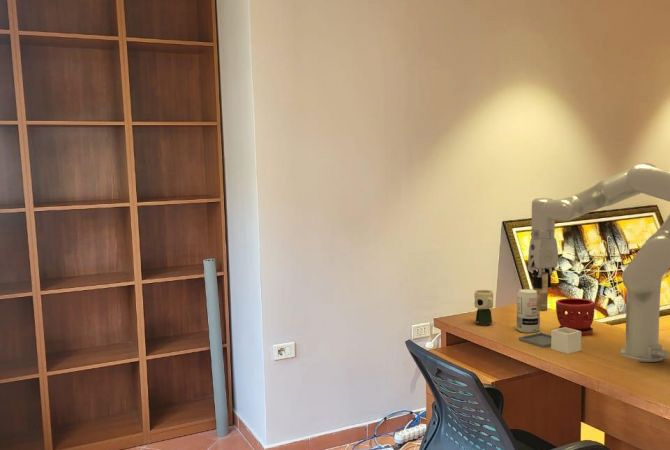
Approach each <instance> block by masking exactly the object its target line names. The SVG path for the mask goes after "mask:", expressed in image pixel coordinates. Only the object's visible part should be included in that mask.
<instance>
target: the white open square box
mask: <svg viewBox="0 0 670 450" xmlns="http://www.w3.org/2000/svg"><path fill="white" fill-rule="evenodd" d="M550 330H551V331H550V332H551V334H550V335H551V346H550V349H551V350H553V351H556V352H560V353H563V354H567V355H569V354H572V353H577V352H581V351H582V336H581V331H578V330H574V329H571V328H567V327H563V328H559V327H558V328H555V329H550Z"/></svg>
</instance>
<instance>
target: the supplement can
mask: <svg viewBox="0 0 670 450" xmlns="http://www.w3.org/2000/svg"><path fill="white" fill-rule="evenodd" d="M536 301H537V289H533V288H522V289H518V292H517V293H516V329H517V330H518V332H520V333H526V334H535V333H539V331H540V330H541V328H540V326H541V324H540V322H541V321H540V320H541V316H540V313H541V311H537V310H536ZM534 332H535V333H534Z"/></svg>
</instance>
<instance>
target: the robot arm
mask: <svg viewBox="0 0 670 450" xmlns="http://www.w3.org/2000/svg"><path fill="white" fill-rule="evenodd" d="M640 194H644V195H646V196H650V197H652V198H656V199H660V200H663V201H667V202H670V170H666V169H662V168H660V167H657V166H656V165H655V164H653V163H649V162H641V163H638V164H635V165H633V166H632V167H630V168H628V169H627V168H626V170H623V171H620V172H618V173H616V174H614V175H611V176H609V177H607V178H604V179H602V180H599V181H598V182H597V183H596V184H595V185H593V186H592V187H589V188H587V189H585V190H583V191H580V192H579V193H576V194H573V195H571V196H569V197H564V198H561V199H553V198H547V197H545V198H543V197H542V198H539V197H538V198H534V199H533V200H532V202H531V231H530V232H531V233H530V236H531V237H530V241H529V247H528V255H527V256H528V257H527V258H528V259H527V260H528V263H527V267H526V271H528V272H530V274H531V276H532V277H533V288H534V289H537V288H538V289H542V277H541V272H542V271H543V272H546V273H548V288H551V286H552V276H553V272H554V271H555V269H556V268H557V267H558V266H559V265H558V264H559V250H558V242H557V239H556V237H555V229H556V228H555V227H556V223H555V221H558V222H569V221H572V220H575V219H577V218H579V217H581V216H585V215H587V214H589V213H592V212H594V211H597V210H599V209H601V208H605V207H610V206H613V205H615V204H618V203H620V202H623V201H625V200H627V199H630V198H632V197H636V196H637V195H640ZM669 269H670V214H668V215H667V217H666V219H665V220H664V222H662V224H661V225H660V227H659V228H658V229H657V231H656V232H654V233H653V234H652V235H651V236H649V237H648V238H647V240H646V241H645V242H644V243H643V245H641V247H640V249H639V250H638V251H637V253H636V254H635V255H634V257H633V258H632V259H631V260H630V262H629V263H628V264H627V266H626V267H625V268H624V271H623V273H622V277H621V278H622V283H623V285H624V287H625V288H626V305H625V306H626V307H625V343H624V344H625V346H624V348H621V349H620V350H619V355H621V356H622V357H623V358H627V359H630V360H635V361H638V362H641V363H655V362H656V363H658V362H661V361H663V360H664V359H666V360H668V358H669V356H670V351H669V350H664V349H663V348H662V347H663V345H662V344H660V342H659V341H660V340H659V338H660V308H661V287H662V286H661V285H662V278H663V277H664V275H665V274H666V273H667V271H669Z"/></svg>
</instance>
